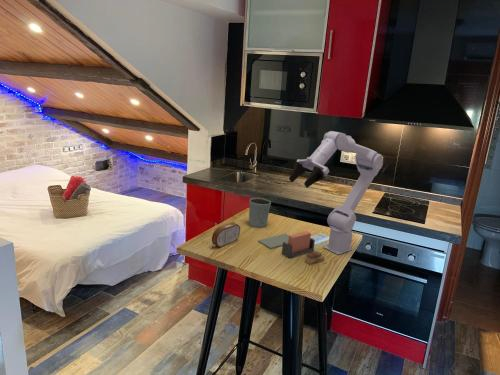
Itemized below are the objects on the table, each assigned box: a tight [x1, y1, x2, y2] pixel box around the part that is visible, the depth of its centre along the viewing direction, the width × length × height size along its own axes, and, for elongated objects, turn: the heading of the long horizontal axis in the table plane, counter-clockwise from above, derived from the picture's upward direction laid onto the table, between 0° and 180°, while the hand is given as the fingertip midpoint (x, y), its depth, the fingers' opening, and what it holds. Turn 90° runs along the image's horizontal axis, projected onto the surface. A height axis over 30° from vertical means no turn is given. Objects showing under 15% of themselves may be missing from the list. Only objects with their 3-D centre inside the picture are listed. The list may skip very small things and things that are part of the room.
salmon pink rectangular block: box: [288, 231, 312, 253], centre depth 150 cm, size 10×2×8 cm, turn 128°
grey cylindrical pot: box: [248, 197, 272, 229], centre depth 176 cm, size 10×10×12 cm
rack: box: [281, 237, 316, 259], centre depth 150 cm, size 14×5×5 cm, turn 128°
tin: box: [211, 221, 241, 248], centre depth 153 cm, size 15×3×8 cm, turn 141°
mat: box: [257, 233, 289, 250], centre depth 160 cm, size 16×8×1 cm, turn 128°
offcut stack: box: [303, 250, 325, 266], centre depth 144 cm, size 8×3×4 cm, turn 127°
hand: (297, 183), depth 132 cm, fingers open, 7 cm apart
